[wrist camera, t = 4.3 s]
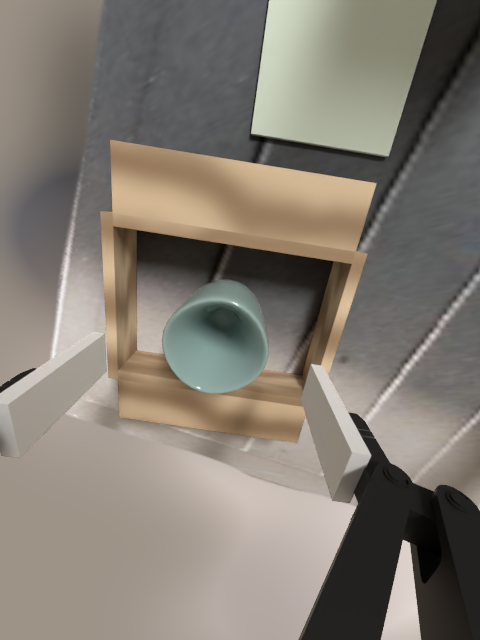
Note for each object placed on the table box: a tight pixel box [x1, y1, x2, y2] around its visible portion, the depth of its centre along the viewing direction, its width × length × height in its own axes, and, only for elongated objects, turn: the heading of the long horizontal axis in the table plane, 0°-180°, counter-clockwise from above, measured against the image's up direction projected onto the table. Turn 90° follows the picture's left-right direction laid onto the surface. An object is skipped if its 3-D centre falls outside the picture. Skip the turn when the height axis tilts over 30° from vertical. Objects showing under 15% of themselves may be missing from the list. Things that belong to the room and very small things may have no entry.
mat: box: [251, 0, 437, 157], centre depth 19 cm, size 12×12×1 cm
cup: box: [162, 279, 269, 394], centre depth 22 cm, size 8×8×10 cm
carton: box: [100, 140, 377, 443], centre depth 25 cm, size 26×22×4 cm
